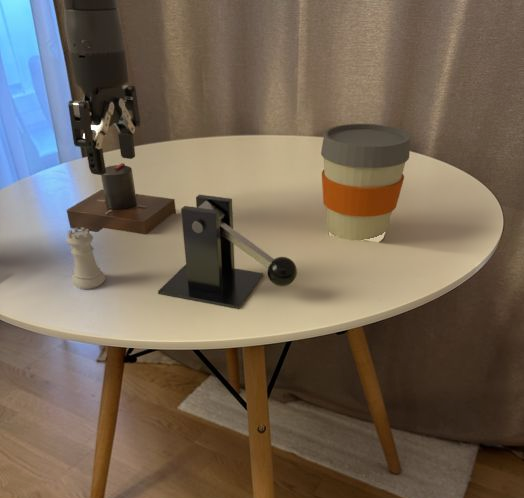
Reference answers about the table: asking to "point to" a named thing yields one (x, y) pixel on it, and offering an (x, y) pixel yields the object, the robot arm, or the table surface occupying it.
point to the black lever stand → (210, 259)
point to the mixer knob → (119, 187)
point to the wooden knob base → (120, 214)
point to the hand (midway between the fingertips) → (114, 165)
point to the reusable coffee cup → (362, 177)
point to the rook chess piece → (84, 260)
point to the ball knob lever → (258, 253)
